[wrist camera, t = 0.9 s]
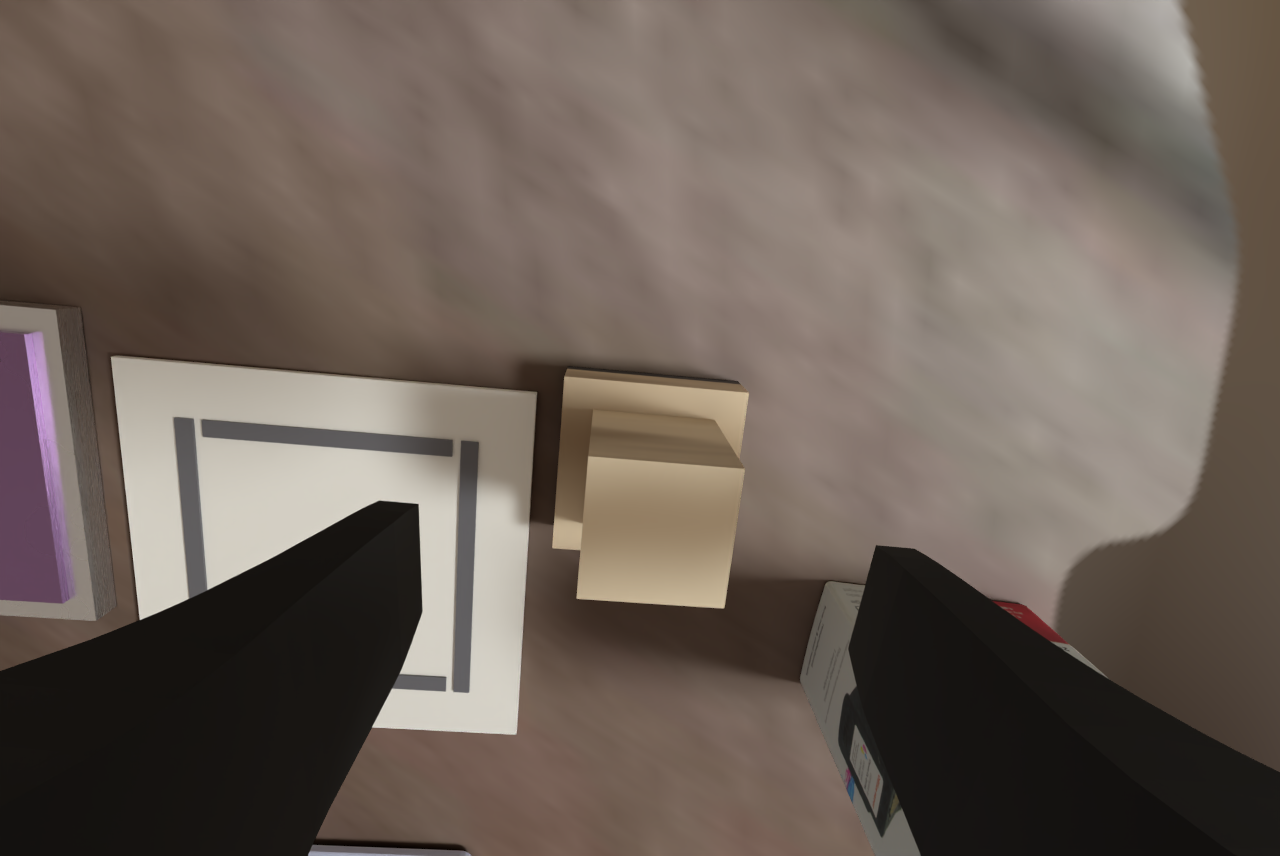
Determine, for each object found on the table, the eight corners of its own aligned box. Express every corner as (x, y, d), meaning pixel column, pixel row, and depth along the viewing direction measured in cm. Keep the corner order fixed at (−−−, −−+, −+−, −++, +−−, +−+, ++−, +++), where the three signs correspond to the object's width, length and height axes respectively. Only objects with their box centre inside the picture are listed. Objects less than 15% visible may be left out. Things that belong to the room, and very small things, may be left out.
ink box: (1030, 602, 26) (1354, 874, 15) (994, 706, 27) (1268, 1031, 16) (822, 576, 25) (994, 841, 14) (795, 684, 27) (933, 1008, 15)
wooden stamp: (715, 536, 25) (755, 643, 18) (556, 524, 24) (536, 629, 18) (737, 380, 23) (789, 434, 17) (568, 365, 23) (550, 414, 16)
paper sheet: (516, 729, 27) (515, 736, 26) (155, 710, 26) (148, 717, 25) (537, 391, 23) (535, 394, 23) (117, 355, 22) (108, 357, 22)
